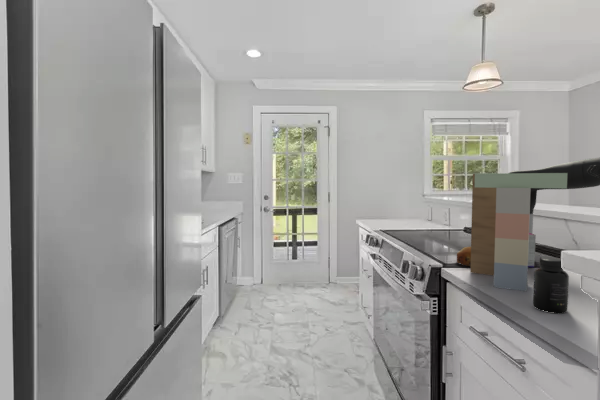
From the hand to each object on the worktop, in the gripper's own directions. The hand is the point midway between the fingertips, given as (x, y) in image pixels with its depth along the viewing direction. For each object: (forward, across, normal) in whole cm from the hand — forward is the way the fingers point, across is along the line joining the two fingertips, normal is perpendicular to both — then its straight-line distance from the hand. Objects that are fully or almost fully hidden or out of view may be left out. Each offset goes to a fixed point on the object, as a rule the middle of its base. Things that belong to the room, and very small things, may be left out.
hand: (590, 168), depth 98 cm
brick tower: (-2, +1, +37) cm, 37 cm away
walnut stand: (+4, -13, +41) cm, 43 cm away
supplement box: (-4, -29, +37) cm, 47 cm away
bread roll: (+10, -23, +45) cm, 51 cm away
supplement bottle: (-10, +18, +33) cm, 39 cm away
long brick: (+11, +1, +13) cm, 17 cm away
